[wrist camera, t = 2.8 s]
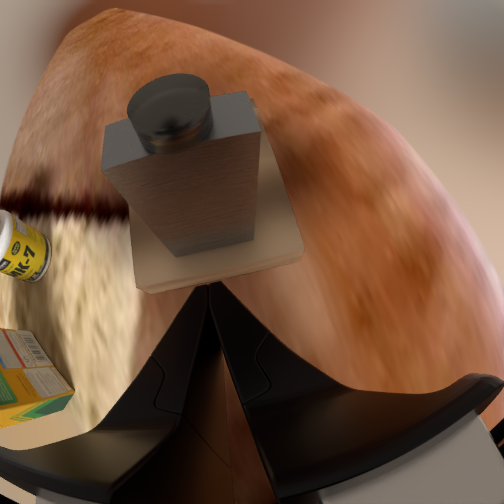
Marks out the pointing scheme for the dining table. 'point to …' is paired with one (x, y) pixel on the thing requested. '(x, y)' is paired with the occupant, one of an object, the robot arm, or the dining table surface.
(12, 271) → the supplement bottle
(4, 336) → the crayon box
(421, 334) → the dining table surface
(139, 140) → the grey piece
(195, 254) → the board
